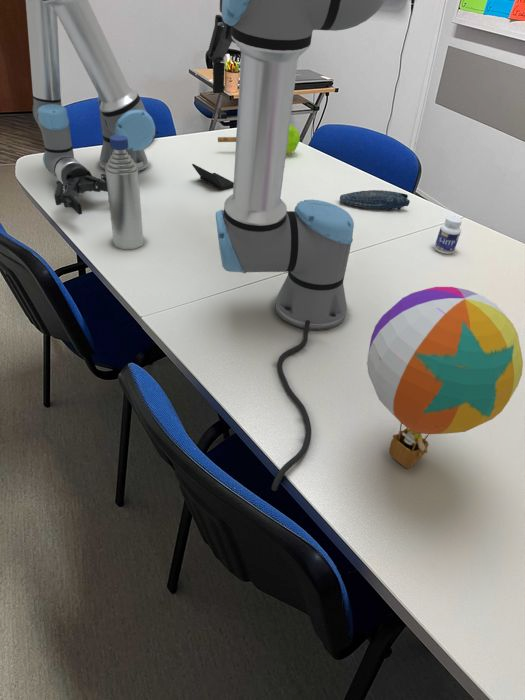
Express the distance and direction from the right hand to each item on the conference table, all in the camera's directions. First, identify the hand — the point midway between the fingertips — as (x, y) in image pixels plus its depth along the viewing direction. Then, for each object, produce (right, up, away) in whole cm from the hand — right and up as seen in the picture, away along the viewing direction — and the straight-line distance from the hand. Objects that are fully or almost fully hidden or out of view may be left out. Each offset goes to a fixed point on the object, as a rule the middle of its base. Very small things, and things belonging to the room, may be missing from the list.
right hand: (233, 99), depth 125 cm
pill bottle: (+56, -33, +16) cm, 67 cm away
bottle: (-27, -33, +6) cm, 43 cm away
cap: (-25, -14, -10) cm, 30 cm away
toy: (+29, -77, -43) cm, 93 cm away
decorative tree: (+5, +12, +66) cm, 67 cm away
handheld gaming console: (-9, -8, +40) cm, 42 cm away
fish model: (+41, -16, +36) cm, 57 cm away
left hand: (-33, -23, +7) cm, 41 cm away
